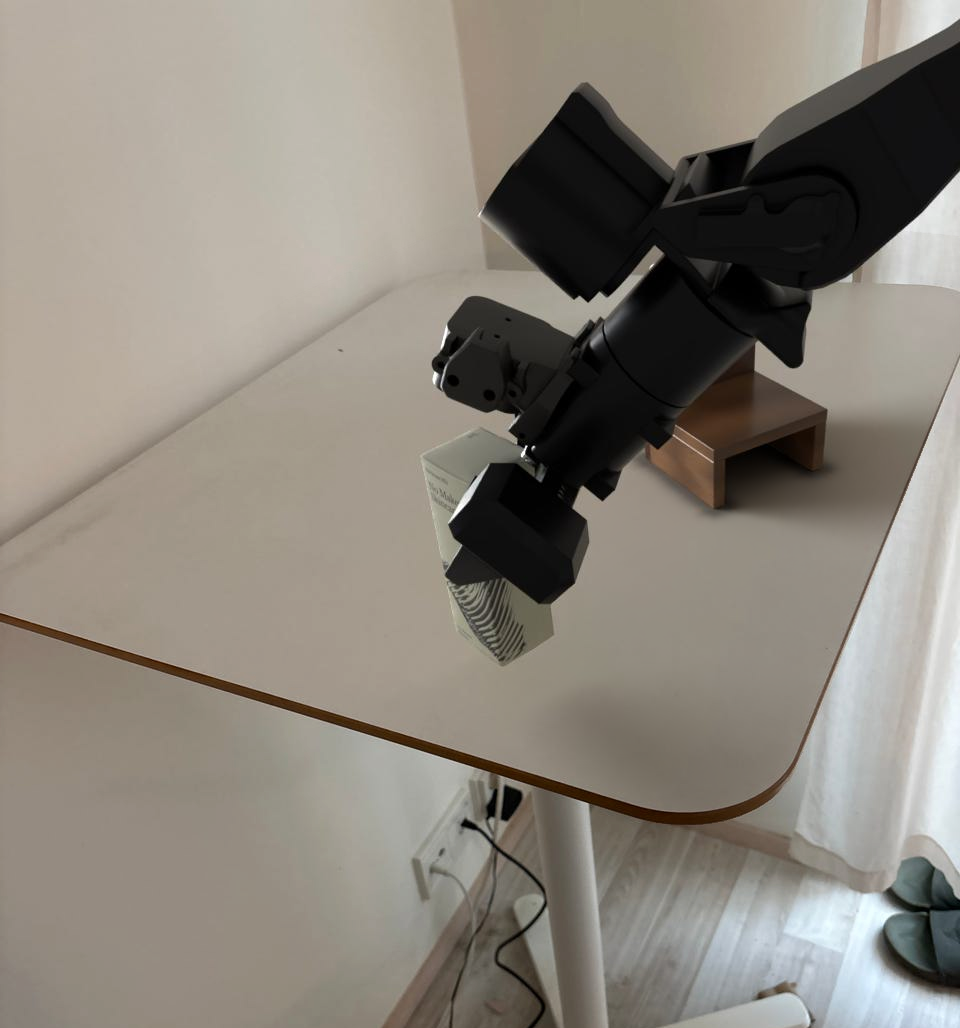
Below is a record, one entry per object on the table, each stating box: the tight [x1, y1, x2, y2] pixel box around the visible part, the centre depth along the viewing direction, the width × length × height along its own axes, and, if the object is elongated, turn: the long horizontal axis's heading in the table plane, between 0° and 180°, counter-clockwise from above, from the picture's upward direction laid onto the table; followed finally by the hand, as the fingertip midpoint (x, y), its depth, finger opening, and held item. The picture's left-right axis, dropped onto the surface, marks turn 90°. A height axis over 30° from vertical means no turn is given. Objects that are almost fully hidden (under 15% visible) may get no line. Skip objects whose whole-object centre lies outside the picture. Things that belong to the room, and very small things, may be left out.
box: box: [420, 426, 555, 667], centre depth 55 cm, size 5×4×13 cm
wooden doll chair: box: [644, 343, 829, 509], centre depth 73 cm, size 10×10×12 cm
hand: (468, 546), depth 55 cm, fingers closed on box, 6 cm apart
